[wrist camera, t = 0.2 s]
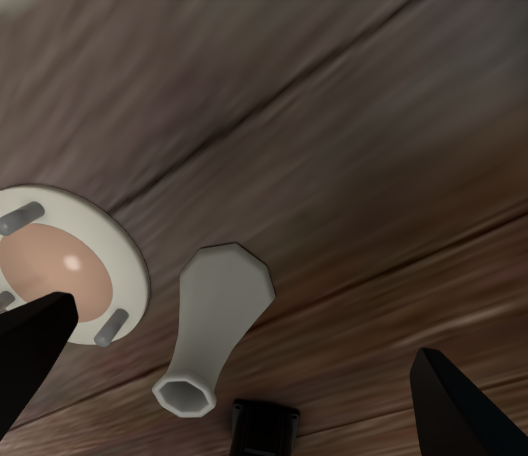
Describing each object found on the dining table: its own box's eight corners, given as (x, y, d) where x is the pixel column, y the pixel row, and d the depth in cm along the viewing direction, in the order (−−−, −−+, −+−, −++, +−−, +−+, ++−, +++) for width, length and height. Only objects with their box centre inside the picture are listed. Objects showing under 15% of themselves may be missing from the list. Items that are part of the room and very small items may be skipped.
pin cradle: (158, 347, 30) (137, 385, 27) (9, 323, 32) (-30, 356, 28) (139, 196, 23) (108, 220, 20) (-51, 173, 25) (-112, 193, 21)
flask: (219, 328, 28) (175, 452, 19) (165, 266, 26) (88, 373, 17) (292, 299, 26) (279, 425, 17) (239, 226, 23) (193, 328, 14)
